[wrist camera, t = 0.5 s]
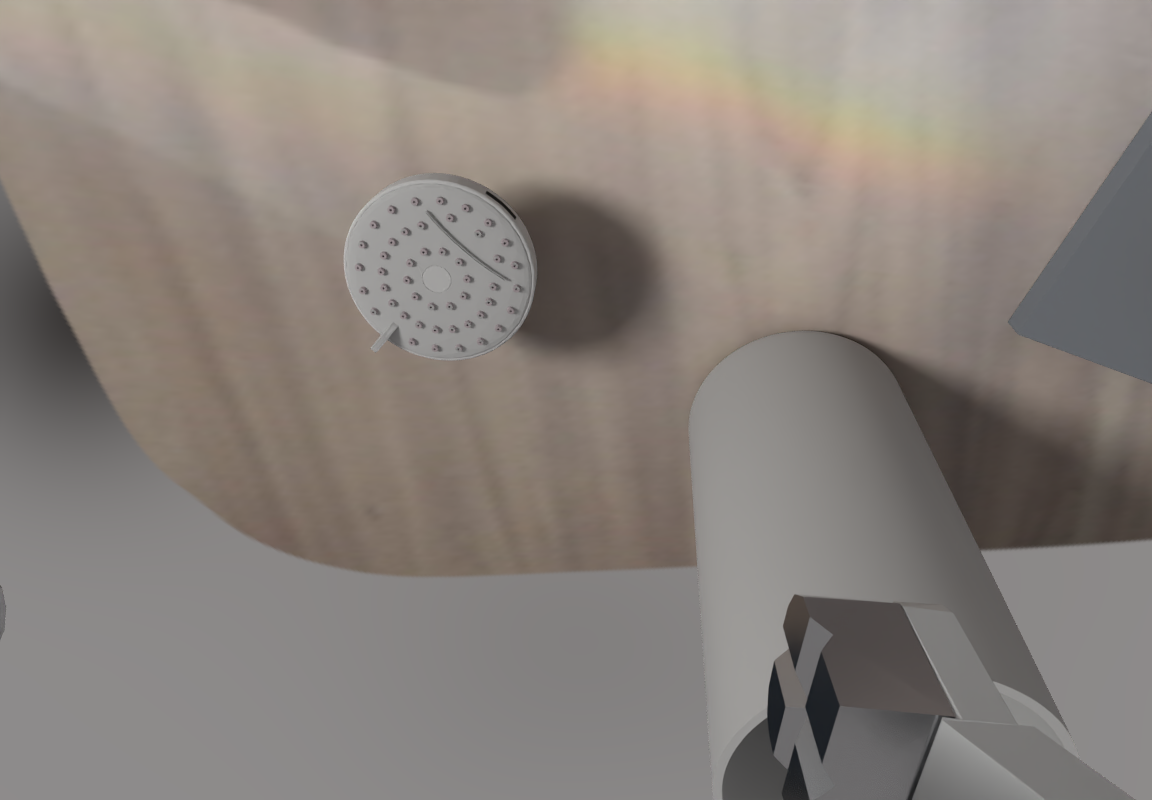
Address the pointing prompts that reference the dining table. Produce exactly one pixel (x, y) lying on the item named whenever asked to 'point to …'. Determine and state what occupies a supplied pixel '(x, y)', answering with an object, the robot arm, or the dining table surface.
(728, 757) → the cylinder vase
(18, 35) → the dining table surface
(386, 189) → the showerhead
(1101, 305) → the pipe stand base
